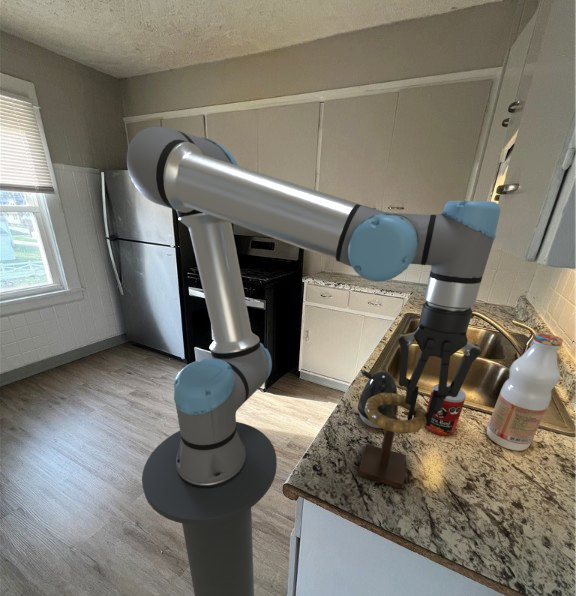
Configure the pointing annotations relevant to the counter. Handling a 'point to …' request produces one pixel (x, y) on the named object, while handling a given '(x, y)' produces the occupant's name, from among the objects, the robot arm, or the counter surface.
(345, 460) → the counter surface
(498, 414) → the fruit juice
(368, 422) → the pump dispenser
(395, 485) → the post
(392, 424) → the ring
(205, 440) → the robot arm
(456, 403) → the canned food
